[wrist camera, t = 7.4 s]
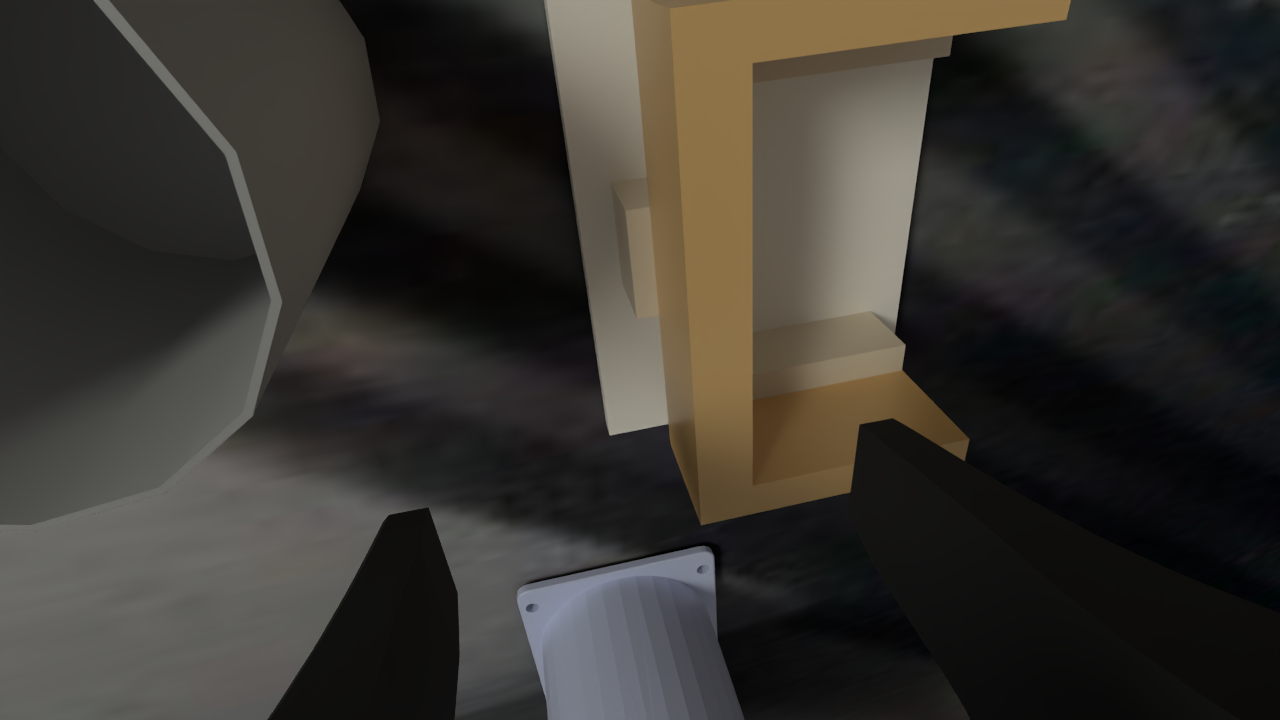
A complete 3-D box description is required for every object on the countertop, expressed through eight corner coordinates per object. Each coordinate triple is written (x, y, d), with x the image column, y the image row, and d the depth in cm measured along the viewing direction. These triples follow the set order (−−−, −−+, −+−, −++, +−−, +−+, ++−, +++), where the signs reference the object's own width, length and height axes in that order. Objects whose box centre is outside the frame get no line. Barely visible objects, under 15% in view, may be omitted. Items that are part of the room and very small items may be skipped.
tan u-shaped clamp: (964, -48, 15) (1081, -45, 12) (898, 396, 21) (963, 467, 18) (630, -7, 14) (669, 8, 11) (670, 443, 20) (701, 525, 17)
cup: (387, -69, 15) (270, -75, 7) (373, 271, 19) (289, 535, 10) (-98, -196, 12) (-1267, -463, 4) (4, 225, 16) (-486, 523, 8)
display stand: (936, -99, 17) (1016, -104, 14) (877, 368, 24) (922, 417, 22) (535, -55, 15) (546, -53, 13) (605, 421, 23) (621, 479, 21)
